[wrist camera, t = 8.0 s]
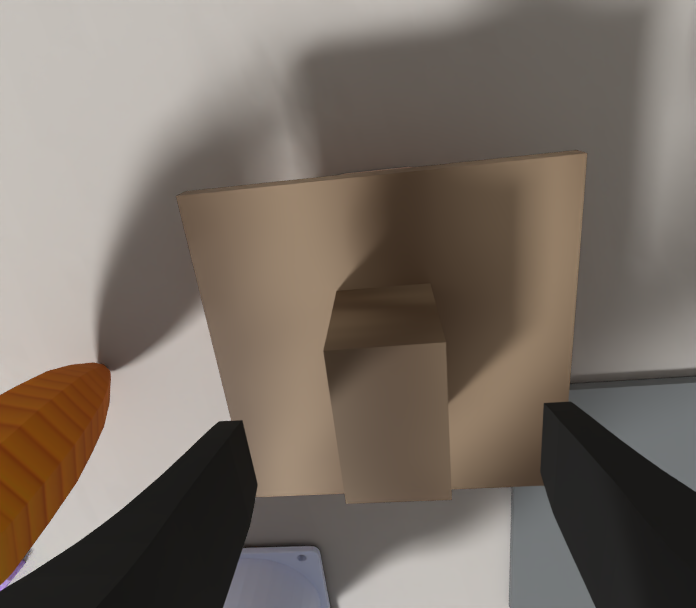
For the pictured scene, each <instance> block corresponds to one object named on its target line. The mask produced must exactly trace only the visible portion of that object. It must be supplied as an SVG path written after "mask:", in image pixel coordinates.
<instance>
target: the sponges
mask: <svg viewBox="0 0 696 608" xmlns="http://www.w3.org/2000/svg"><path fill="white" fill-rule="evenodd" d="M25 563H26V562H25V561H24V560H22V561H21V562H20V563H19V565H18V566H17V567H16V569H15V570H14V572H13V573H12V574H11V575H10V576H9V577H8V578H7V579H6V580H5V581H4V583H2V584H1V585H0V591H1V590H3V589H4V588H6V586H7V585H8V584H9V583H10V582H11V580H12V579H13V578H14V577H15V575H16V574H17V573H18V572H19V570H20V569H21V568H22V567H23V565H24V564H25Z"/></svg>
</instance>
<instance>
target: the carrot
mask: <svg viewBox="0 0 696 608" xmlns="http://www.w3.org/2000/svg"><path fill="white" fill-rule="evenodd" d="M110 383H111V374H110V370H109V369H108V368H107V367H106V366H105V365H104V364H99V363H84V364H74V365H69V366H65V367H61V368H57V369H54V370H50V371H47V372H45V373H43V374H40V375H38V376H36V377H34V378H32V379H30V380H28V381H26V382H24V383H22V384H20V385H18V386H16V387H14V388H12V389H10V390H9V391H7V392H5V393H3V394H1V395H0V585H1V584H2V583H4V581H5V580H6V579H7V578H8V577H9V576H10V575H11V574H12V573H13V572H14V570H15V569H16V567H17V566H18V565H19V563H20V562H21V561H22V559H23V558H24V556H25V555H26V554H27V552H28V551H29V550H30V548H31V547H32V546H33V544H34V543H35V541H36V540H37V539H38V537H39V536H40V535H41V533H42V532H43V530H44V529H45V528H46V526H47V525H48V524H49V522H50V521H51V519H52V518H53V516H54V515H55V513H56V512H57V510H58V509H59V508H60V506H61V505H62V503H63V502H64V500H65V499H66V497H67V496H68V494H69V493H70V491H71V490H72V489H73V487H74V486H75V484H76V483H77V481H78V479H79V477H80V475H81V473H82V471H83V469H84V467H85V466H86V464H87V462H88V460H89V458H90V456H91V454H92V452H93V450H94V447H95V445H96V443H97V441H98V439H99V436H100V434H101V432H102V430H103V427H104V424H105V420H106V416H107V411H108V407H109V401H110Z"/></svg>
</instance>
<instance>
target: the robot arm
mask: <svg viewBox="0 0 696 608" xmlns="http://www.w3.org/2000/svg"><path fill="white" fill-rule="evenodd" d="M540 473H541V477H542V480H543V483H544V487H545V490H546V493H547V497H548V500H549V503H550V506H551V509H552V512H553V515H554V517H555V519H556V521H557V524H558V526H559V528H560V530H561V533H562V535H563V537H564V539H565V542H566V544H567V546H568V548H569V550H570V553H571V555H572V557H573V559H574V561H575V564H576V566H577V568H578V570H579V572H580V575H581V577H582V579H583V581H584V583H585V586H586V588H587V590H588V592H589V594H590V596H591V599H592V601H593V603H594V605H595V607H596V608H696V492H695V491H694V490H692V489H691V488H689V487H688V486H686V485H685V484H683V483H682V482H680V481H678V480H677V479H675V478H674V477H672V476H671V475H669V474H668V473H666V472H665V471H663V470H662V469H660V468H659V467H658V466H656V465H655V464H653V463H652V462H650V461H649V460H648V459H646V458H645V457H643V456H642V455H641V454H639V453H638V452H637V451H635V450H634V449H632V448H631V447H630V446H628V445H627V444H626V443H624V442H623V441H622V440H620V439H619V438H618V437H616V436H615V435H614V434H613V433H611V432H610V431H609V430H607V429H606V428H605V427H604V426H602V425H601V424H600V423H598V422H597V421H596V420H595V419H593V418H592V417H591V416H590V415H588V414H587V413H586V412H584V411H583V410H582V409H581V408H579V407H578V406H577V405H575V404H574V403H573V402H571V401H570V402H552V403H544V407H543V427H542V446H541V466H540ZM257 486H258V484H257V479H256V475H255V471H254V467H253V462H252V458H251V454H250V450H249V446H248V441H247V437H246V433H245V429H244V424H243V420H237V421H220V422H218V423H217V424H215V425H214V426H213V427H212V428H211V429H210V430H209V431H208V432H207V433H206V434H204V435H203V436H202V437H201V438H200V439H199V440H198V441H197V442H196V443H195V444H194V445H193V446H192V447H191V448H190V449H189V450H188V451H187V452H186V453H185V454H184V455H182V456H181V457H180V458H179V459H178V460H177V461H176V462H175V463H174V464H173V465H172V466H171V467H170V468H169V469H168V470H166V471H165V472H164V473H163V474H162V475H161V476H160V477H159V478H158V479H157V480H155V481H154V482H153V483H152V484H151V485H150V486H148V487H147V488H146V489H145V490H144V491H143V492H141V493H140V494H139V495H138V496H137V497H136V498H134V499H133V500H132V501H131V502H130V503H129V504H127V505H126V506H125V507H124V508H123V509H121V510H120V511H119V512H118V513H116V514H115V515H114V516H113V517H111V518H110V519H109V520H107V521H106V522H105V523H103V524H102V525H101V526H99V527H98V528H97V529H95V530H94V531H93V532H91V533H90V534H88V535H87V536H86V537H84V538H83V539H82V540H80V541H79V542H77V543H76V544H74V545H73V546H71V547H70V548H68V549H67V550H65V551H64V552H62V553H61V554H59V555H57V556H56V557H54V558H53V559H51V560H50V561H48V562H47V563H45V564H44V565H42V566H41V567H39V568H37V569H36V570H34V571H33V572H31V573H30V574H28V575H26V576H25V577H23V578H21V579H20V580H18V581H16V582H15V583H13V584H11V585H9V586H8V587H6V588H4V589H3V590H1V591H0V608H330V603H329V597H328V592H327V587H326V581H325V576H324V570H323V565H322V560H321V554H320V551H319V549H317V548H316V547H314V546H294V547H261V548H243V546H244V542H245V539H246V536H247V533H248V530H249V527H250V523H251V518H252V513H253V508H254V503H255V497H256V492H257Z"/></svg>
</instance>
